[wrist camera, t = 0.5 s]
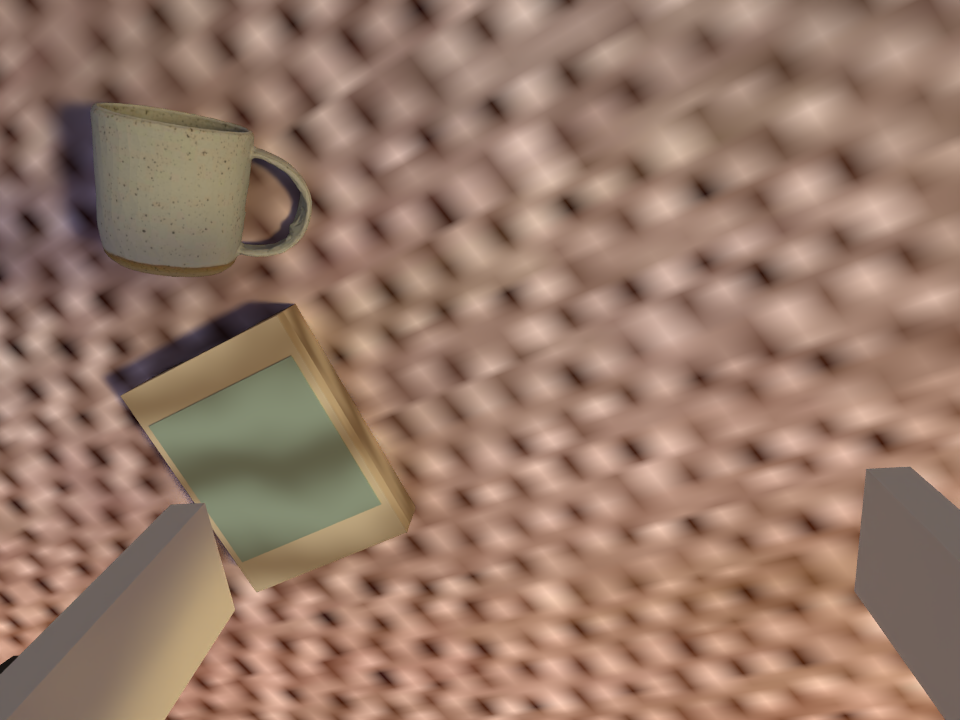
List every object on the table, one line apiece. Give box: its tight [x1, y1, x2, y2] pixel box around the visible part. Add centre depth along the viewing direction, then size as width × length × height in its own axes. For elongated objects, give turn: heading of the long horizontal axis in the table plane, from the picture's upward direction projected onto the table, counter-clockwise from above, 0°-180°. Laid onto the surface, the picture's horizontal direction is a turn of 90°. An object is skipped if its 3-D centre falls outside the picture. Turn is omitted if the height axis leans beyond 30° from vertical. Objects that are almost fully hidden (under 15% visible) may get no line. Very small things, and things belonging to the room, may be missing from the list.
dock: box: [121, 304, 416, 592], centre depth 42 cm, size 16×12×3 cm
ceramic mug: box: [90, 103, 312, 277], centre depth 35 cm, size 11×8×8 cm
